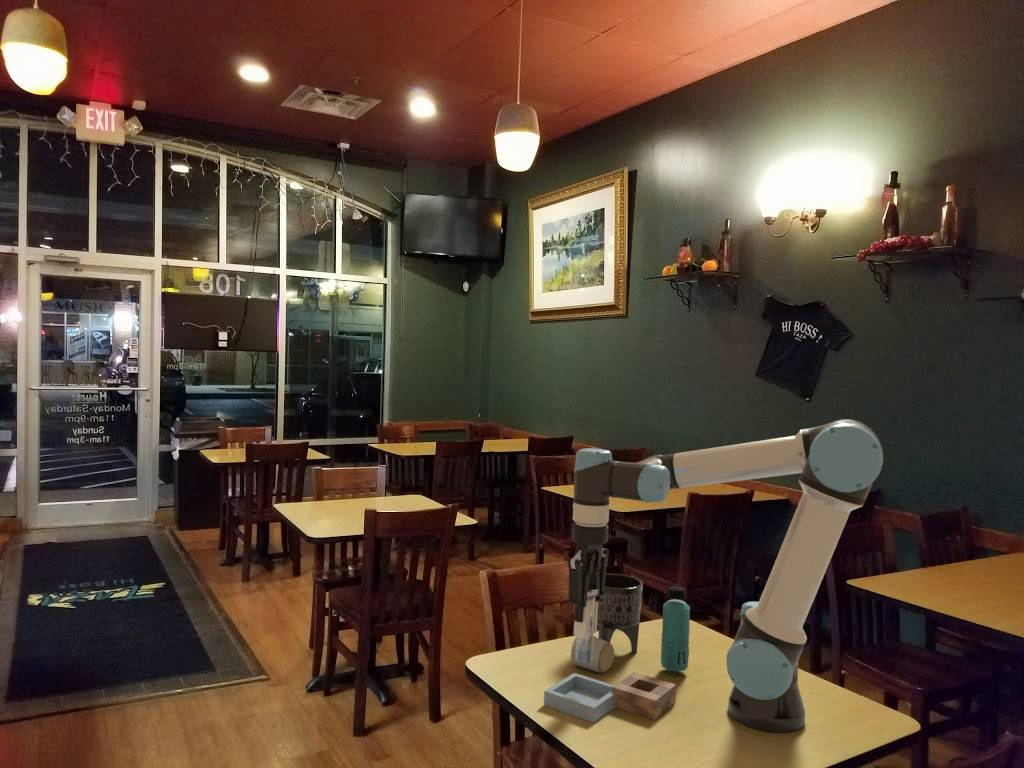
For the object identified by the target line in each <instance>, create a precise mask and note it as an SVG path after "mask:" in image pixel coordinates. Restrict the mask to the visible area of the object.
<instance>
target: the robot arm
mask: <svg viewBox="0 0 1024 768" xmlns="http://www.w3.org/2000/svg"><path fill="white" fill-rule="evenodd" d="M612 456H613V455H612V452H611V451H610V450H608V449H602V448H593V447H591V448H589V447H588V448H581V449H579V450H578V451H577V452H576V454H575V463H574V469H573V499H572V500H573V504H572V509H573V510H572V521H574V522H573V523H572V524H571V540H572V541H573V542H575V544H576V548H575V552H574V556H573V557H568V558H567V560H566V561H567V568H568V604H569V605H572V606H574V618H573V622H574V623H573V636H576V637H577V636H578V637H582V638H586V637H587V619H588V606H586V600H587V592H588V586H590V587H594V588H597V589H598V595H597V596H595V610H594V632H593V634H595V633H597V632H598V624H597V614H598V601H603V597H600V596H601V595H602V596H603V595H604V592H605V579H606V574H607V563H608V558H609V553H610V550H609V549H608V548H603V545H605V544H607V543H608V541H609V540H608V539H609V526H608V523H609V520H610V519H609V517H610V498H613V499H622V500H623V499H624V500H631V501H638V502H639V501H640V502H645V503H663V502H665V501H666V500H667V499H668V496H669V494H670V490H671V491H672V490H677V489H683V488H691V487H699V486H707V485H715V484H722V483H723V484H724V483H725V484H726V483H730V482H731V483H732V482H740V481H741V482H742V481H747V480H756V479H764V478H769V477H771V478H772V477H780V476H788V475H795V474H796V475H797V474H800V476H799V479H798V483H799V485H800V487H801V490H802V495H801V498H800V499H799V502H798V505H797V508H796V509H795V512H794V514H793V516H792V519H791V521H790V524H789V526H788V530H787V532H786V534H785V537H784V539H783V542H782V544H781V546H780V549H779V552H778V554H777V557H776V559H775V561H774V564H773V567H772V569H771V572H770V574H769V576H768V579H767V581H766V584H765V586H764V589H763V591H762V594H761V596H760V598H759V601H747V602H744V603H743V604H742V606H741V611H740V613H739V615H740V619H741V620H740V625H739V628H738V630H737V633H736V634H735V637H734V640H733V643H732V645H731V646H730V647H729V649H728V651H727V653H726V670H727V674H728V676H729V678H730V681H731V682H732V684H733V686H732V689H731V691H730V694H729V696H728V705H727V710H728V713H729V715H730V716H731V717H732V718H734V720H736V721H737V722H739V723H741V724H743V725H745V726H747V727H749V728H753V729H756V730H759V731H764V732H768V733H769V732H770V733H790V732H796V731H798V730H800V729H802V728H803V727H804V726H805V724H804V723H806V708H805V706H804V702H803V701H804V700H803V698H802V694H801V691H800V688H799V683H798V682H799V678H798V677H799V663H800V662H799V660H800V657H801V654H802V652H803V651H804V648H805V645H806V643H807V640H808V637H807V635H806V632H805V630H804V628H803V627H804V624H805V622H806V619H807V617H808V614H809V612H810V610H811V607H812V604H813V603H814V600H815V598H816V596H817V593H818V591H819V588H820V586H821V583H822V581H823V579H824V576H825V574H826V571H827V569H828V566H829V563H830V562H831V559H832V557H833V554H834V552H835V550H836V548H837V545H838V542H839V540H840V538H841V536H842V533H843V531H844V528H845V526H846V523H847V521H848V520H849V519H848V518H849V516H850V514H851V512H852V511H854V510H856V509H859V508H863V506H864V505H865V503H866V499H867V497H868V495H869V492H870V491H871V488H872V486H873V483H874V481H875V480H876V479H877V478H878V477H879V475H880V474H881V470H882V468H883V465H884V453H883V447H882V444H881V441H880V439H879V438H878V436H877V434H876V432H874V430H873V429H872V428H871V427H870V426H868V425H867V424H865V422H864V423H863V422H862V421H859V420H855V419H849V418H848V419H847V418H846V419H845V418H844V419H838V420H834V421H832V422H829V423H825V424H823V425H818V426H815V427H814V426H813V427H809V428H803V429H800V430H799V431H798V432H797V434H795V435H791V436H784V437H777V438H776V437H775V438H770V439H764V440H758V441H750V442H744V443H738V444H731V445H730V444H729V445H723V446H716V447H711V448H705V449H704V448H703V449H698V450H690V451H683V452H678V453H673V454H670V453H669V454H664V455H663V454H662V455H661V454H656V455H655V454H654V455H651V456H648V457H647V458H644V459H643V460H641V461H637V462H630V461H629V462H628V461H619V460H618V461H617V460H613V457H612ZM803 725H804V726H803ZM802 726H803V727H802ZM801 727H802V728H801Z"/></svg>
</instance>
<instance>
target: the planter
mask: <svg viewBox="0 0 1024 768" xmlns="http://www.w3.org/2000/svg"><path fill="white" fill-rule="evenodd" d="M643 586H644V585H643V581H642V580H640V579H639V578H637V577H634V576H631V575H625V574H620V573H619V574H618V573H606V579H605V592H604V595H603V596H602V595H601V596H600V597H603V601H598V614H597V625H598V638H600V639H602V640H605V641H607V642H609V643H610V644H611V641H612V637H613V635H614V633H615V632H616V630H618V631H620V632H622V633H624V634H625V635H626V636H627V638H628V641H630V648H631V649H630V651H631V653H632V654H637V653H638V643H639V631H640V618H641V607H642V598H643V596H642V595H643Z"/></svg>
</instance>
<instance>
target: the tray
mask: <svg viewBox="0 0 1024 768" xmlns="http://www.w3.org/2000/svg"><path fill="white" fill-rule="evenodd" d="M614 685H615V684H610V683H608V682H605V681H601V680H598V679H594V678H592V677H588V676H585V675H583V674H582V675H581V674H579V673H576V672H574V673H571V674H570V675H568V676H567V677H565V678H563V679H562V680H560V681H559V682H557V683H555V684H554V685H552V686H550V687H549V688H546V689H545V690H544V692H543V695H544V696H543V705H544V706H545V707H549V708H550V709H554V710H557V711H559V712H562V713H565V714H568V715H571V716H574V717H576V718H579V719H582V720H585V721H589V722H591V723H596V722H597V721H599V719H601V718H602V717H604V716H605V715H607V714H608V713H609V712H610V711H612V710H613V709H615V708H616V707H615V704H616V693H615V692H612V686H614Z"/></svg>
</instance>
